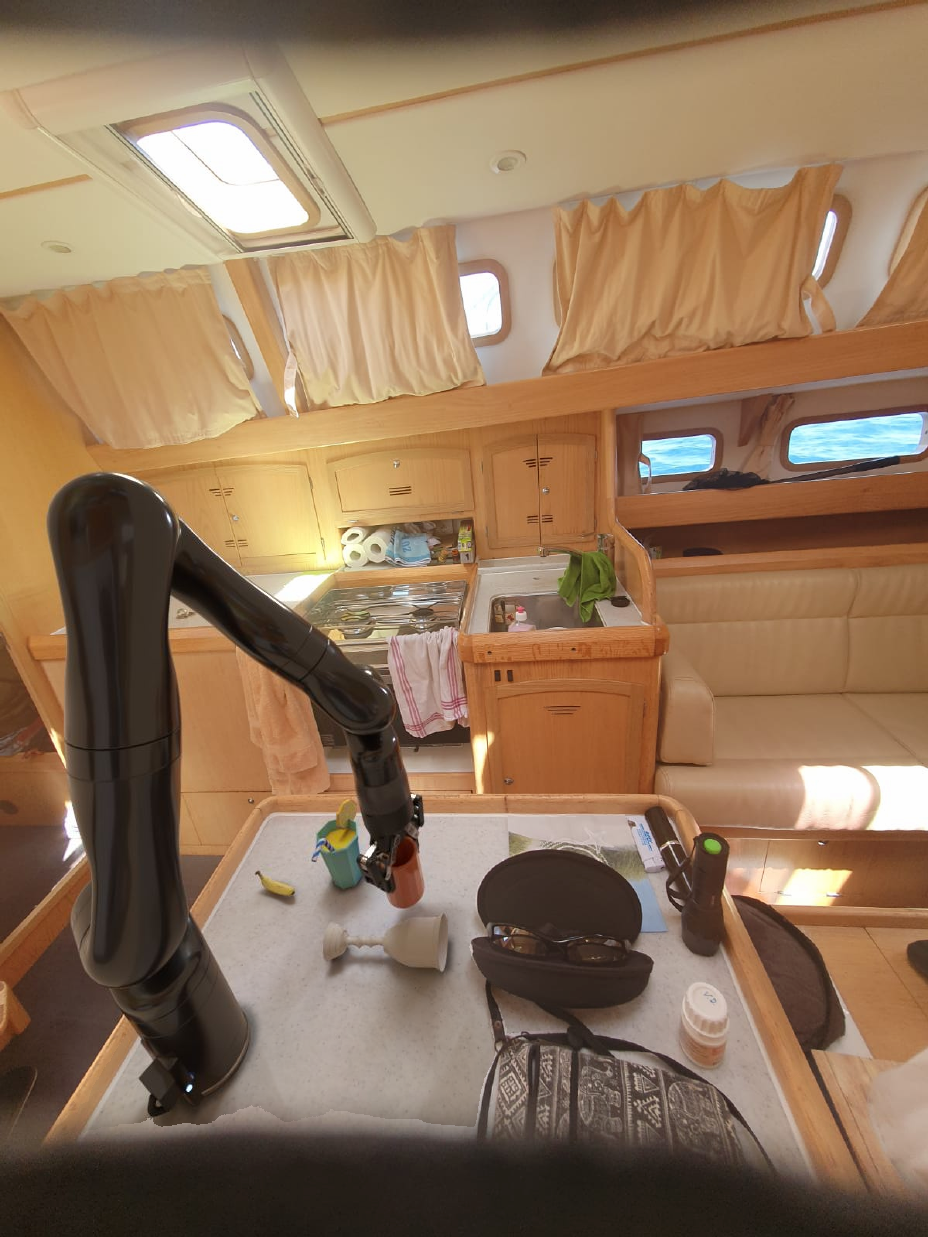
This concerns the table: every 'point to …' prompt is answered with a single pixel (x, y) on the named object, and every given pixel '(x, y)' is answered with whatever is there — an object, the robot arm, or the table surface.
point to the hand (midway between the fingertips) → (401, 870)
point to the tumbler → (406, 875)
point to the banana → (275, 886)
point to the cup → (340, 846)
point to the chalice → (398, 942)
